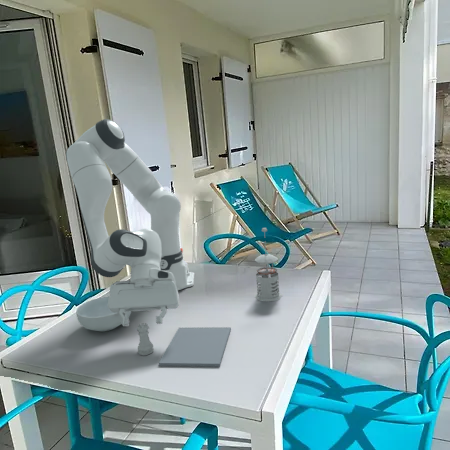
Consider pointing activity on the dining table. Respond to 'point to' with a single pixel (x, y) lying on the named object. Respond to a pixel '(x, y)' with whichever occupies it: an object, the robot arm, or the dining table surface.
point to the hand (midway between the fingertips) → (142, 324)
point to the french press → (267, 278)
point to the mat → (196, 347)
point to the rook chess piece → (144, 340)
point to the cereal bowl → (99, 315)
